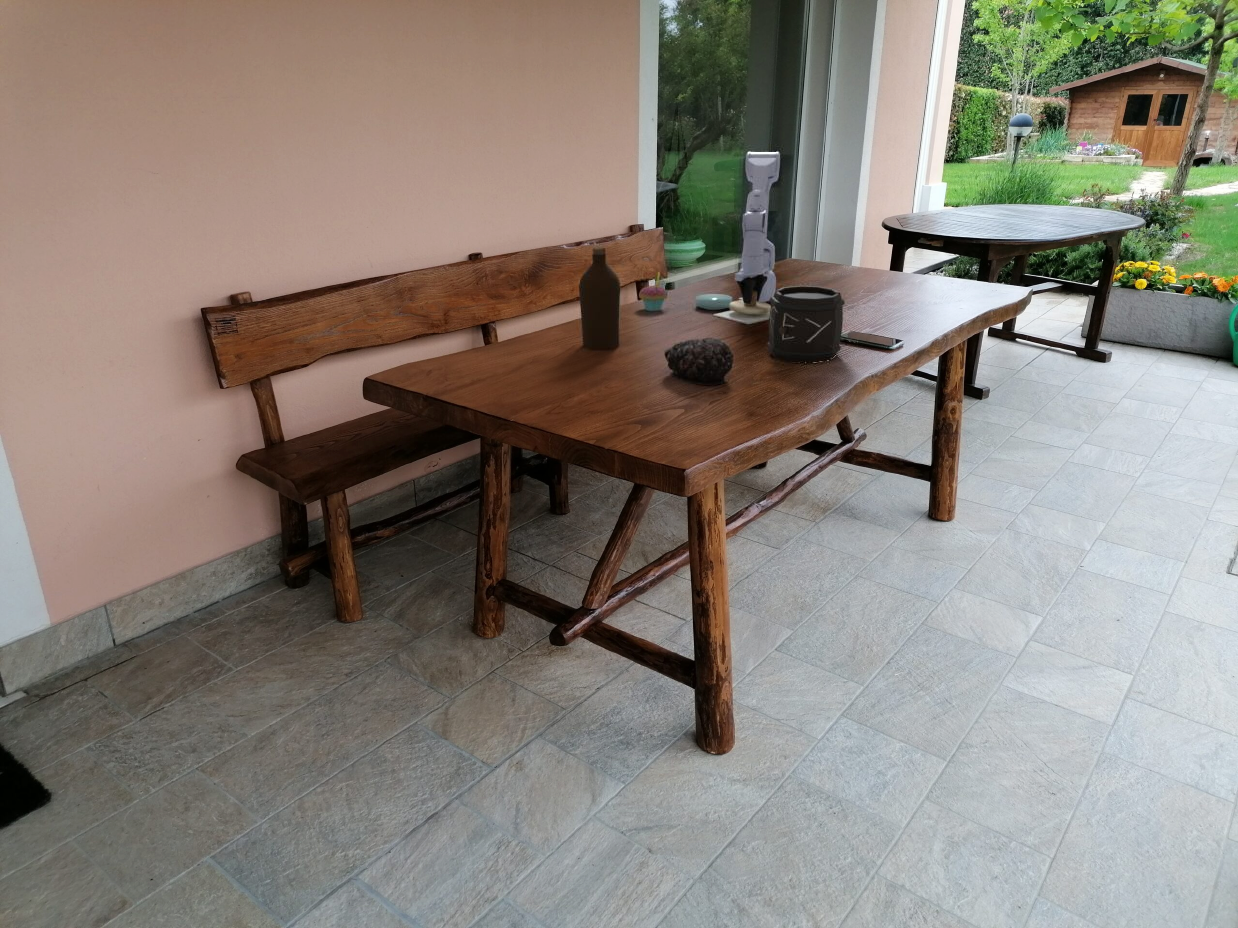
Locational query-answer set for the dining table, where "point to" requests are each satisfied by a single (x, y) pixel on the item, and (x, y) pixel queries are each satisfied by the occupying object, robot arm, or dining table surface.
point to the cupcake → (653, 296)
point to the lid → (750, 306)
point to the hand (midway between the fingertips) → (751, 302)
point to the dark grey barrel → (805, 323)
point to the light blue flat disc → (713, 301)
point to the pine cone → (700, 361)
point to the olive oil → (600, 304)
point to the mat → (743, 317)
